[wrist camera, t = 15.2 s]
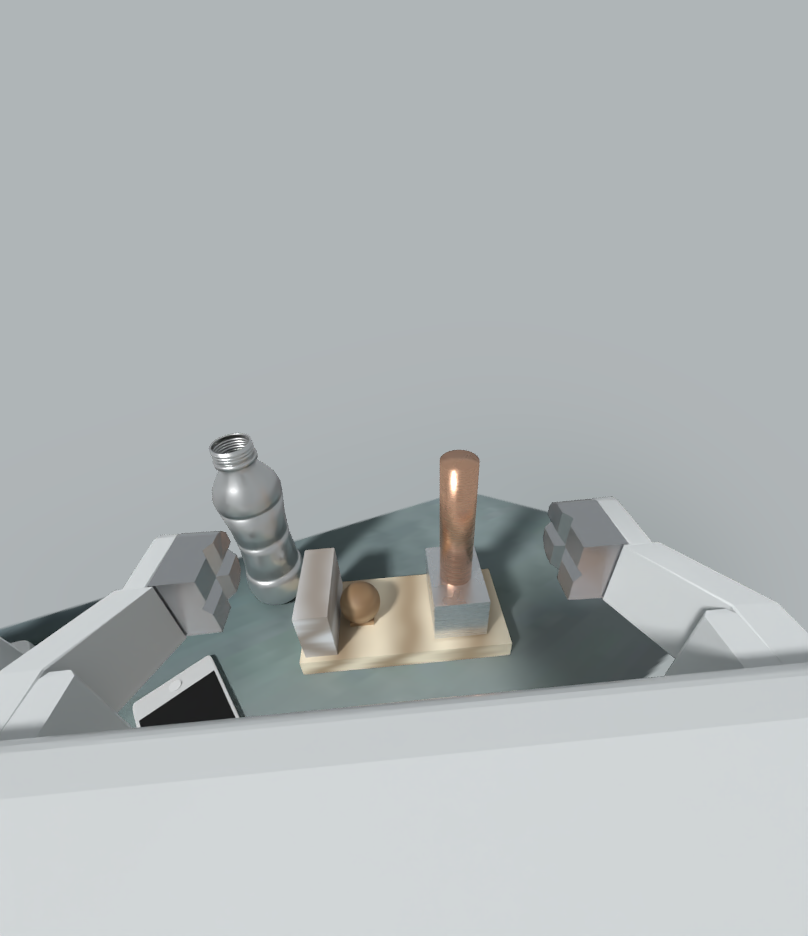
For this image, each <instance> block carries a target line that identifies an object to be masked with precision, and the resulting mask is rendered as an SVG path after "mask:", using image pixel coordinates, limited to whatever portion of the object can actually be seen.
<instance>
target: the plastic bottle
mask: <svg viewBox="0 0 808 936" xmlns="http://www.w3.org/2000/svg"><path fill="white" fill-rule="evenodd" d="M209 450H210V454H211V456H212V458H213V464H214V467H215V468H216V469H217V470H218V474H217V476H216V478H215V481H214V484H213V487H212V500H213V504H214V506H215V507H216V509H217V511H218V512H219V514H220V515H221V517H222V518H223V520H224V521H225V523H226V524H227V526H228V528H229V529H230V530H231V532H232V534H233V536H234V538H235V540H236V542H237V544H238V546H239V548H240V550H241V554H242V557H243V560H244V564H245V567H246V577H247V581H248V585H249V588H250V590H251V591H252V593H253V594H254V595H255V597H256V598H257V599H258V600H259V601H261V602H263V603H266V604H270V605H280V604H284V603H287V602H289V601H291V600H292V599H294V598H295V597H296V595H297V590H298V585H299V580H300V574H301V569H302V564H303V558H302V556H301V554H300V552H299V551H298V549H297V548H296V546H295V543H294V541H293V539H292V536H291V534H290V532H289V528H288V524H287V519H286V515H285V511H284V503H283V494H282V487H281V482H280V480H279V478H278V476H277V475H276V473H275V472H274V471H273V470H272V469H271V468H270V467H268V466H267V465H266V464H264V463H263V462H261V461H259V460H257V457H258V456H257V451H256V449H255V448H254V446H253V443H252V440H251V438H250V436H248V435H246V434H243V433H235V434H228V435H225V436H222V437H220V438H218V439H216V440H215V441H213V442H212V443H211V445H210V446H209Z"/></svg>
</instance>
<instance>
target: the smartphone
mask: <svg viewBox="0 0 808 936" xmlns="http://www.w3.org/2000/svg"><path fill="white" fill-rule="evenodd" d="M133 713H134V717H135V721H136V725H137V728H138V727H149V726H159V725H169V724H179V723H190V722H200V721H210V720H220V719H231V718H240V717H239V715H238V712H237V710H236V708H235V706H234V704H233V702H232V699H231V697H230V695H229V693H228V691H227V688H226V686H225V684H224V682H223V680H222V678H221V675H220V673H219V671H218V669H217V667H216V665H215V662H214V660H213V659H212V657H211V656H206V657H204V658H203V659H201V660H200V661H198V662H197V663H195V664H194V665H192V666H191V667H189V668H188V669H186V670H184V671H183V672H181V673H180V674H178V675H177V676H175V677H174V678H172V679H171V680H169V681H167V682H166V683H164V684H163V685H161V686H160V687H158V688H157V689H155V690H154V691H152V692H151V693H149V694H147V695H146V696H144V697H143V698H141V699H140V700H138V701H137V702H135V703H134V705H133Z"/></svg>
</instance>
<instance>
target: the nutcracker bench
mask: <svg viewBox="0 0 808 936" xmlns="http://www.w3.org/2000/svg"><path fill="white" fill-rule="evenodd" d="M481 571H482V574H483V578H484V581H485V585H486V588H487V591H488V595H489V598H490V610H489V618H488V626H487V634H481V635H471V636H460V637H449V638H439V639H435V637H434V630H433V623H432V616H431V609H430V602H429V595H428V588H427V581H426V574H424V575H413V576H402V577H391V578H379V579H368V580H357V581H365V582H368V583H370V584H372V585H373V586H374V587H375V588H376V589H377V591H378V593H379V596H380V608H379V610H378V612H377V614H376V615H375V617H374V625H365V626H354V627H351V626H350V621H349V620H348V619H347V618H346V617H345V616H344V615H343V613H342V611H341V608H340V598H341V595H342V593H343V591H344V590H345V588H346V587H347V586H348V585H350V584H351V583H354V582H357V581H346V582H342V579H341V575H340V570H339V566H338V561H337V557H336V552H335V548H325V549H314V550H305V553H304V559H303V564H302V569H301V574H300V580H299V585H298V590H297V595H296V601H295V606H294V611H293V616H292V622H293V625H294V627H295V630H296V633H297V635H298V638H299V641H300V644H301V646H302V651H301V658H300V666H301V668H302V671H303V673H304V674H314V673H325V672H335V671H346V670H356V669H367V668H377V667H388V666H398V665H409V664H419V663H430V662H440V661H451V660H461V659H472V658H482V657H493V656H503V655H510V652H511V646H512V642H511V638H510V635H509V632H508V629H507V626H506V622H505V619H504V616H503V613H502V610H501V607H500V603H499V600H498V597H497V594H496V591H495V588H494V584H493V581H492V578H491V575H490V572H489V569H481Z"/></svg>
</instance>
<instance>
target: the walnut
mask: <svg viewBox="0 0 808 936" xmlns="http://www.w3.org/2000/svg"><path fill="white" fill-rule="evenodd" d="M340 608H341V611H342V613H343V615H344V616H345V617H346V618H347V619H348V620H349V621H350V626H351V627H354V626H365V625H374V617H375V615H376V614H377V612H378V610H379V608H380V596H379V593H378V591H377V589H376V588H375V587H374V586H373V585H372V584H370V583H368V582H365V581H357V582H354V583H351V584H350V585H348V586H347V587H346V588H345V590H344V591H343V593H342V595H341V598H340Z"/></svg>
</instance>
